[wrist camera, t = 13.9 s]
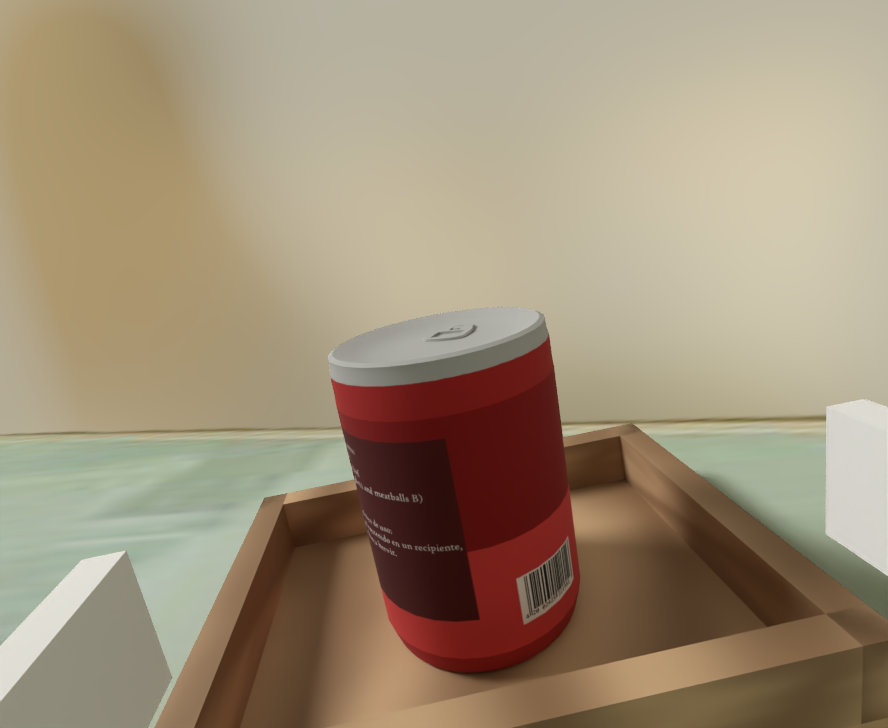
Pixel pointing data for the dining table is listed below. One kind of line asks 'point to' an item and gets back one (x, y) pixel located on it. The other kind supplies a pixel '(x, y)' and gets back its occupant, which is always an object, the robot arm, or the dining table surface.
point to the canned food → (462, 482)
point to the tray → (577, 648)
